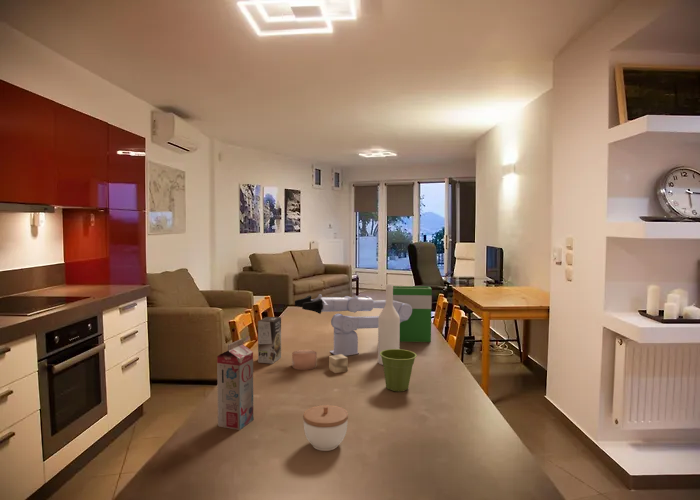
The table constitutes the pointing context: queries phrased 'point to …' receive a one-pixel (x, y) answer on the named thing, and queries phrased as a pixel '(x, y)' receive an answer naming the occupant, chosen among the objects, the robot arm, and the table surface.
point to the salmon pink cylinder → (304, 359)
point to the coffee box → (269, 339)
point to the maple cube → (338, 363)
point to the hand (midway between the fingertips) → (298, 304)
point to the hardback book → (415, 312)
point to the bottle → (388, 325)
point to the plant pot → (397, 368)
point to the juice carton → (235, 386)
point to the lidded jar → (325, 426)
